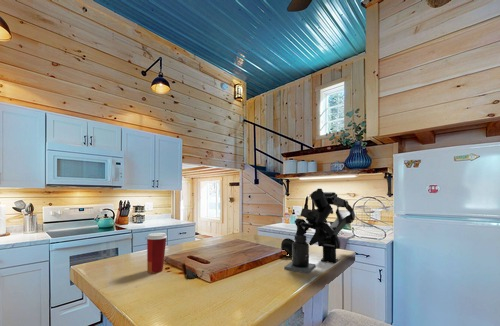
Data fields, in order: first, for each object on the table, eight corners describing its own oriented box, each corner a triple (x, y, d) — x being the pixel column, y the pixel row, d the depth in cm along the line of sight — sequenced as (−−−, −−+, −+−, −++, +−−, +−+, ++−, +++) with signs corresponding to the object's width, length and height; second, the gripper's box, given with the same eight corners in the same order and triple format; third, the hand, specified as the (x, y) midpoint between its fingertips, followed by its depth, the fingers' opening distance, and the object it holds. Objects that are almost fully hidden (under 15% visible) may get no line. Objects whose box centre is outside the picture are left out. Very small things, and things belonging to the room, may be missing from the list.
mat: (293, 262, 108) (292, 260, 108) (315, 266, 103) (315, 264, 103) (284, 269, 100) (284, 266, 100) (308, 273, 94) (308, 270, 95)
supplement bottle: (310, 268, 98) (310, 237, 99) (293, 267, 98) (293, 236, 99) (306, 262, 105) (306, 234, 106) (290, 262, 105) (290, 233, 106)
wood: (207, 279, 89) (208, 270, 89) (186, 281, 87) (187, 272, 87) (200, 262, 110) (200, 255, 110) (183, 263, 107) (183, 256, 108)
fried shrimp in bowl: (273, 246, 119) (288, 229, 133) (284, 267, 118) (298, 248, 133) (288, 242, 113) (302, 225, 128) (300, 263, 113) (312, 243, 128)
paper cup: (168, 268, 99) (170, 232, 101) (160, 274, 92) (162, 236, 93) (150, 267, 100) (152, 232, 101) (140, 273, 92) (142, 235, 94)
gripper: (297, 200, 116) (278, 226, 109) (327, 203, 99) (306, 233, 93) (310, 217, 119) (292, 242, 112) (341, 221, 102) (322, 252, 96)
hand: (302, 242), depth 103 cm, fingers open, 9 cm apart
